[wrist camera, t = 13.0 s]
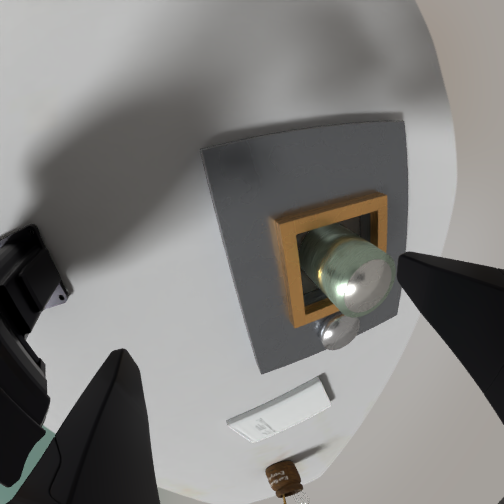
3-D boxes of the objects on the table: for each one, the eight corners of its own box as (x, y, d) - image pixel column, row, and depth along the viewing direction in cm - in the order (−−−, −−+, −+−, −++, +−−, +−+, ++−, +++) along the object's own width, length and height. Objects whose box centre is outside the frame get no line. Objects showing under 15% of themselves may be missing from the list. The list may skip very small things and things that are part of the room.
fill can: (301, 285, 23) (337, 328, 18) (294, 231, 21) (337, 266, 15) (350, 267, 24) (393, 302, 18) (349, 215, 21) (399, 243, 16)
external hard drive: (327, 398, 34) (251, 436, 33) (315, 372, 30) (224, 417, 29) (332, 406, 32) (254, 445, 32) (321, 381, 29) (227, 427, 28)
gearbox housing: (256, 363, 25) (264, 382, 23) (199, 149, 16) (203, 151, 14) (389, 307, 28) (402, 319, 26) (392, 120, 19) (412, 122, 17)
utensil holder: (299, 459, 42) (321, 505, 31) (278, 471, 43) (298, 515, 32) (277, 459, 39) (300, 510, 29) (257, 472, 40) (276, 520, 30)
